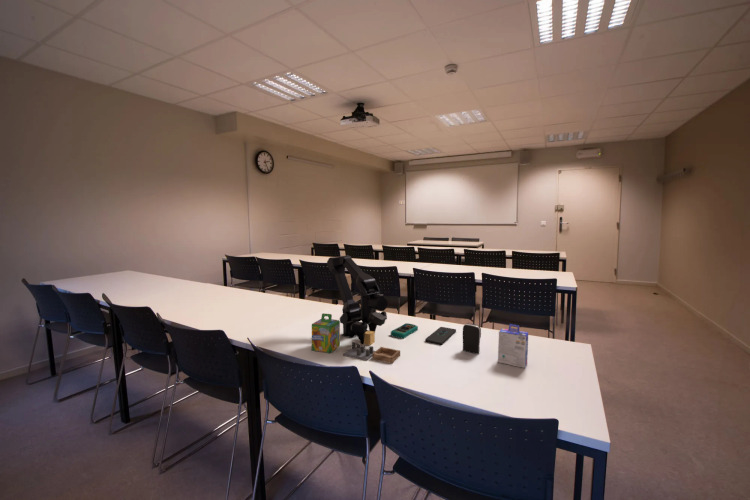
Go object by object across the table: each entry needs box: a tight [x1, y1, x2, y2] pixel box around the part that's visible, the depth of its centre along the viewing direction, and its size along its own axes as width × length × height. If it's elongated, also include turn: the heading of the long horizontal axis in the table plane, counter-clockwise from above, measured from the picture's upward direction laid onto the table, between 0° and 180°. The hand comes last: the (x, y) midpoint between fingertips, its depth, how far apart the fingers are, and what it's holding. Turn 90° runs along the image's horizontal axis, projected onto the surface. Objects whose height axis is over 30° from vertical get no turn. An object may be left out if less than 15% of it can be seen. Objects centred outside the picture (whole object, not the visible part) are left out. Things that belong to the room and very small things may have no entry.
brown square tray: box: [371, 346, 401, 364], centre depth 129 cm, size 9×8×2 cm
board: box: [342, 341, 376, 362], centre depth 132 cm, size 11×8×3 cm
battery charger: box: [462, 322, 482, 355], centre depth 134 cm, size 7×4×11 cm, turn 58°
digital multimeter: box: [390, 322, 419, 339], centre depth 157 cm, size 7×15×3 cm, turn 145°
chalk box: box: [311, 313, 341, 354], centre depth 138 cm, size 9×9×15 cm
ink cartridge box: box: [497, 323, 529, 369], centre depth 123 cm, size 10×6×14 cm, turn 58°
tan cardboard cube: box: [363, 329, 376, 346], centre depth 144 cm, size 5×4×5 cm
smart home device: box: [424, 326, 457, 346], centre depth 151 cm, size 8×2×20 cm
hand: (367, 340), depth 144 cm, fingers open, 9 cm apart
